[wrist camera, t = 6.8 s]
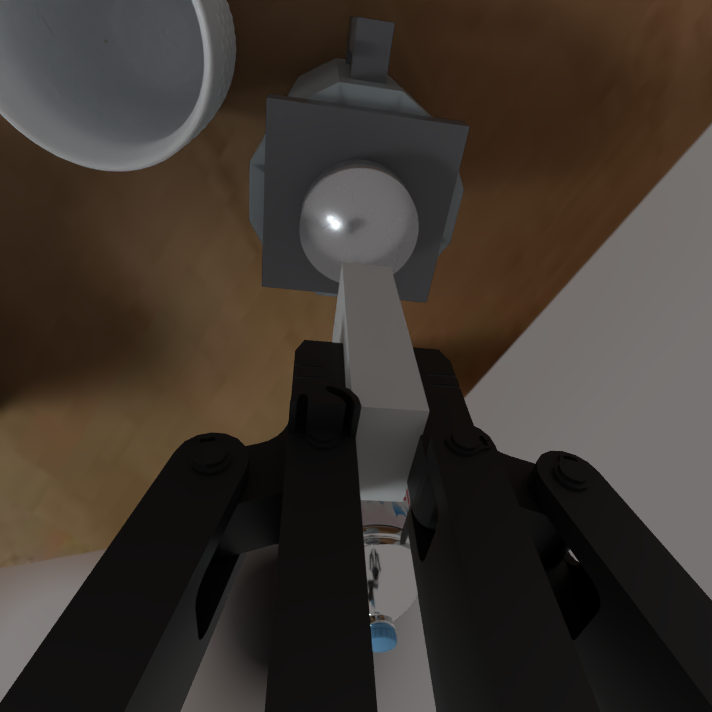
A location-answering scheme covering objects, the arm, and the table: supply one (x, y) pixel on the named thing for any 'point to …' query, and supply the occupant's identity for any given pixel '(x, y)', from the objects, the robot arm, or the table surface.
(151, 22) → the mug
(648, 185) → the table surface
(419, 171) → the carafe
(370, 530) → the water bottle
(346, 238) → the plunger
